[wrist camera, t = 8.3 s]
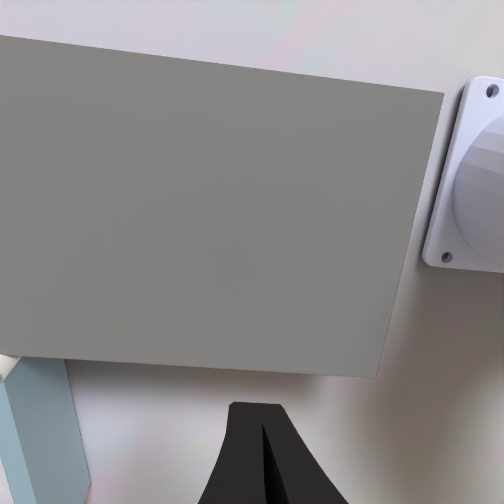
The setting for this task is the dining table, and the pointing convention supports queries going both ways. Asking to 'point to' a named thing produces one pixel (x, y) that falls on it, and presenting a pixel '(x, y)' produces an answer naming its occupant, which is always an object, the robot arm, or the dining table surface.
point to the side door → (40, 432)
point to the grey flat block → (202, 210)
